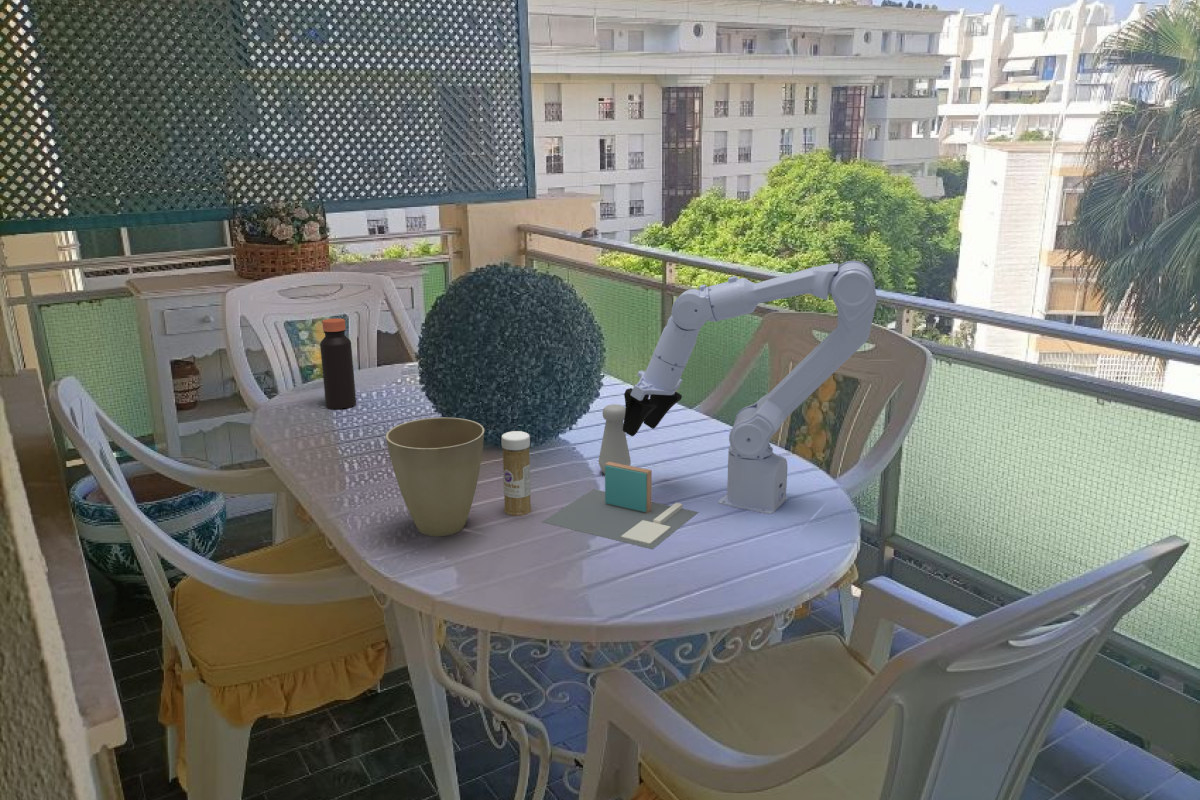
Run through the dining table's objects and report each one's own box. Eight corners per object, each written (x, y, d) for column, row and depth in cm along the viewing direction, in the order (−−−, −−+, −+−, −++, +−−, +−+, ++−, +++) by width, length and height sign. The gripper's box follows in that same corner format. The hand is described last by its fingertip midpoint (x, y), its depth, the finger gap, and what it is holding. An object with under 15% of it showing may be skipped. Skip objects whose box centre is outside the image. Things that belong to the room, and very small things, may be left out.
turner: (665, 504, 151) (665, 500, 151) (693, 510, 149) (693, 506, 148) (620, 538, 139) (620, 533, 139) (649, 545, 136) (649, 540, 136)
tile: (651, 510, 149) (651, 470, 147) (646, 513, 148) (646, 473, 146) (609, 500, 153) (608, 461, 151) (604, 504, 152) (604, 464, 150)
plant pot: (375, 527, 144) (366, 432, 140) (452, 501, 154) (447, 411, 150) (428, 557, 134) (422, 454, 130) (507, 527, 144) (504, 431, 140)
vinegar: (348, 399, 215) (341, 316, 209) (361, 406, 210) (354, 320, 204) (321, 405, 211) (312, 320, 205) (333, 411, 206) (325, 324, 200)
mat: (698, 514, 148) (698, 512, 148) (652, 551, 135) (652, 549, 135) (593, 491, 158) (593, 489, 158) (541, 523, 145) (541, 521, 145)
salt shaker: (593, 476, 165) (592, 408, 161) (607, 466, 170) (607, 400, 166) (622, 482, 162) (622, 412, 159) (636, 471, 167) (636, 404, 164)
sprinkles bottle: (499, 515, 149) (495, 436, 145) (512, 505, 153) (510, 428, 149) (523, 519, 147) (521, 440, 143) (537, 509, 151) (534, 432, 147)
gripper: (669, 344, 158) (639, 411, 162) (629, 351, 145) (598, 424, 150) (703, 363, 155) (672, 431, 160) (665, 372, 142) (633, 446, 147)
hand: (638, 429), depth 155 cm, fingers open, 7 cm apart
